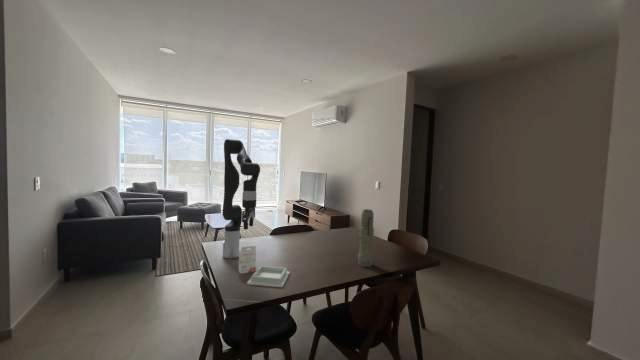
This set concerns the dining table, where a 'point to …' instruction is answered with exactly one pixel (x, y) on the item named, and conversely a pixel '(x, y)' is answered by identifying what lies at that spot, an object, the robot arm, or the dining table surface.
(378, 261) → the dining table surface
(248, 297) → the dining table surface
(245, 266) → the ink cartridge box
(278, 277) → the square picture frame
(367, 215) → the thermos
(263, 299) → the dining table surface
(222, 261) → the dining table surface
